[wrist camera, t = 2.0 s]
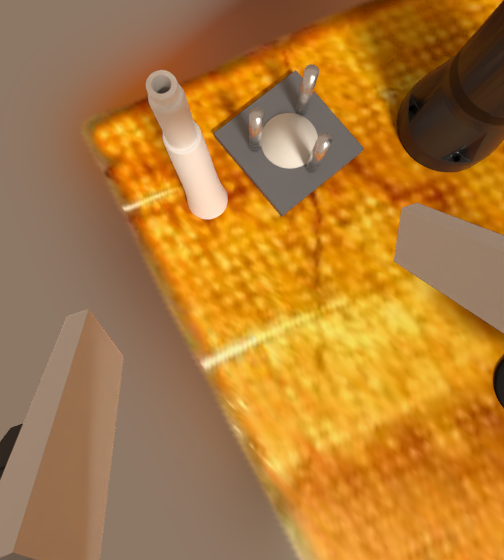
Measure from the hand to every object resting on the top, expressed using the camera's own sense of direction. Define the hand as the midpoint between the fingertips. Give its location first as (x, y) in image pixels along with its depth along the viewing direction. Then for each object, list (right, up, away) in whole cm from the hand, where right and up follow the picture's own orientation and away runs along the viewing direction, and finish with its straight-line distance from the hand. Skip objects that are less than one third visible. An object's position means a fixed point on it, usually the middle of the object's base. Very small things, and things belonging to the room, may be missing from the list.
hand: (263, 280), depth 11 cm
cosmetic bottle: (-7, +12, +30) cm, 33 cm away
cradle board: (+5, +21, +30) cm, 37 cm away
